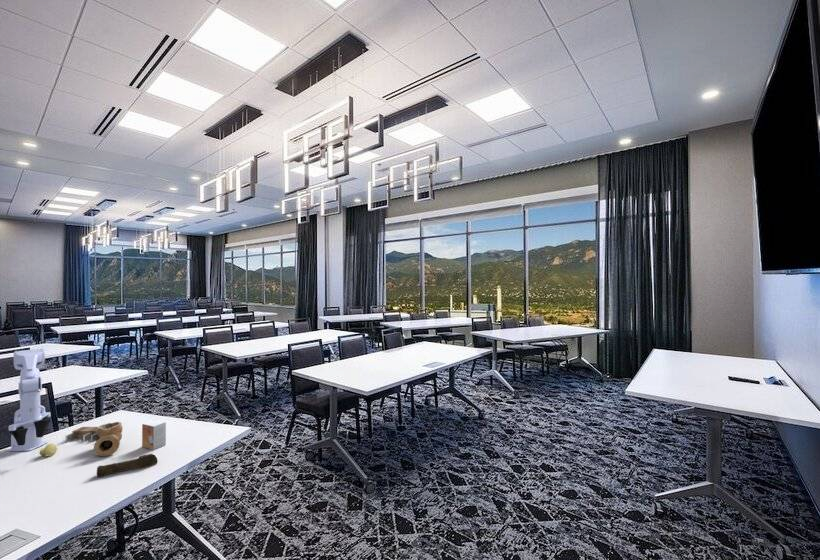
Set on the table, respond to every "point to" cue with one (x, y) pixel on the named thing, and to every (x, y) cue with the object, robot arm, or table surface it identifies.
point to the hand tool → (127, 465)
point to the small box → (153, 434)
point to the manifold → (83, 434)
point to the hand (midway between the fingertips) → (30, 441)
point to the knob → (48, 450)
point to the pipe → (108, 439)
